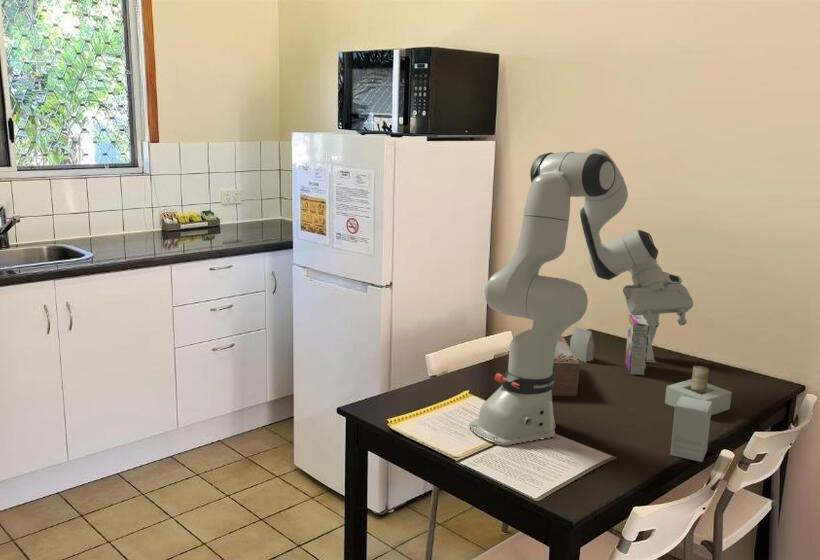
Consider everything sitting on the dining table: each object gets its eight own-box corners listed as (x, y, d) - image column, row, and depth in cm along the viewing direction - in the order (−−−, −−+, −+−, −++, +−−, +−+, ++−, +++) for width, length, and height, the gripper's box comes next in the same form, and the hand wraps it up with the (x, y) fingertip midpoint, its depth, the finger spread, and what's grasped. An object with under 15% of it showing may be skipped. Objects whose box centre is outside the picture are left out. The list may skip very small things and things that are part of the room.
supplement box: (707, 451, 175) (713, 401, 172) (702, 463, 169) (708, 411, 166) (675, 443, 179) (680, 394, 176) (669, 455, 173) (674, 404, 170)
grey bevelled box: (585, 362, 236) (587, 332, 234) (569, 356, 241) (571, 327, 239) (592, 360, 238) (595, 330, 236) (576, 354, 244) (578, 325, 241)
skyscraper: (624, 355, 245) (632, 273, 239) (647, 354, 246) (655, 272, 240) (636, 363, 237) (644, 279, 231) (659, 362, 238) (668, 278, 232)
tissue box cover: (577, 397, 208) (579, 363, 206) (526, 395, 208) (528, 362, 206) (560, 366, 233) (562, 336, 231) (514, 364, 233) (516, 334, 231)
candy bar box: (623, 363, 237) (628, 313, 233) (640, 364, 236) (644, 314, 232) (628, 374, 226) (633, 323, 222) (645, 376, 225) (650, 324, 221)
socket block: (702, 418, 194) (704, 400, 193) (664, 403, 204) (666, 386, 203) (729, 409, 201) (731, 391, 200) (691, 394, 210) (693, 378, 209)
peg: (698, 410, 200) (703, 371, 197) (685, 405, 203) (690, 367, 200) (707, 407, 202) (712, 369, 199) (694, 402, 205) (699, 364, 203)
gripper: (626, 279, 208) (645, 321, 201) (685, 276, 215) (705, 317, 208) (615, 291, 213) (633, 333, 206) (673, 288, 220) (692, 328, 213)
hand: (669, 325), depth 207 cm, fingers open, 8 cm apart
